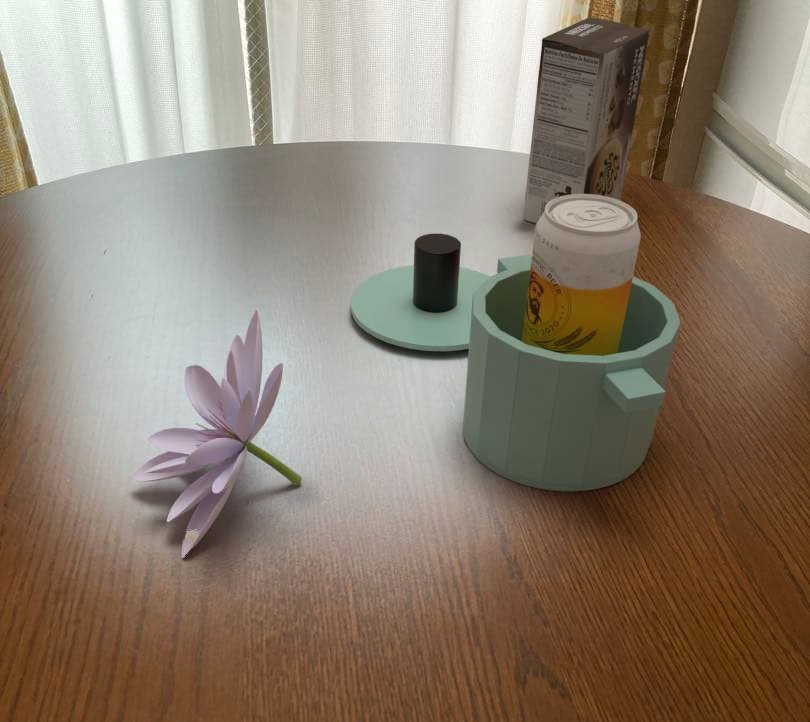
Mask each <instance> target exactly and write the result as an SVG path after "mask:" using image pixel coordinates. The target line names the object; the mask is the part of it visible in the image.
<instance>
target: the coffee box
mask: <svg viewBox="0 0 810 722" xmlns="http://www.w3.org/2000/svg"><path fill="white" fill-rule="evenodd" d="M650 32H651V29H647V28H641V27H636V26H631V25H629V24H626V23H623V22H618V21H614V20H608V19H604V18H603V19H602V18H597V17H586V18H585V19H582V20H580V21H577V22H575V23H574V24H571V25H569V26H566V27H565V28H562V29H561V30H558V31H555V32H554V33H551V34H549V35H547V36H545V37H542V39H541V48H540V49H541V51H540V57H539V65H538V66H539V67H538V77H537V84H536V85H537V86H536V94H535V103H534V104H535V105H534V113H533V124H532V133H531V142H530V150H529V151H530V152H529V158H528V159H529V160H528V169H527V177H526V178H527V179H526V187H525V196H524V205H523V206H524V207H523V216H522V219H523V220H524V221H527V222H530V223H533V224H535V225H536V224H537V222H538V221H539V219H540V217H541V216H542V214H543V213H544V211H545V206H546V205H547V203H548V202H550V201H551V200H553V199H555V198H557V197H561V196H565V195H572V194H593V195H601V196H606V197H610V198H614V199H617V200H620V201H622V195H623V188H624V182H625V177H626V171H627V165H628V159H629V153H630V147H631V141H632V138H633V131H634V126H635V119H636V114H637V109H638V101H639V96H640V90H641V84H642V80H643V73H644V67H645V62H646V55H647V50H648V44H649V37H650Z"/></svg>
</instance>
